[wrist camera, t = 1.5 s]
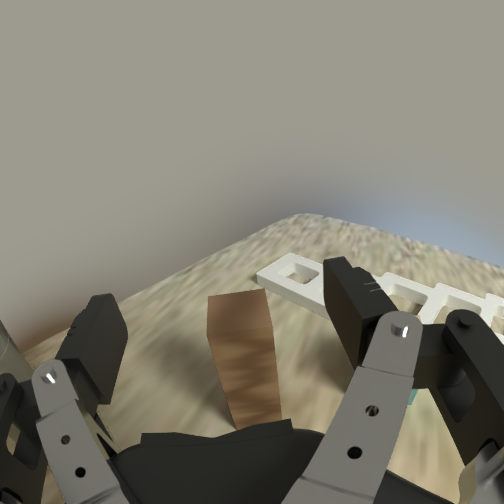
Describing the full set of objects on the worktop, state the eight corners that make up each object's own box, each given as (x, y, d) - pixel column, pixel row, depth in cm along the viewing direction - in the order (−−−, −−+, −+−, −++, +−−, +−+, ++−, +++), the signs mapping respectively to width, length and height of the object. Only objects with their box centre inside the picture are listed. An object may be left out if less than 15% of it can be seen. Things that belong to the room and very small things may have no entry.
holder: (257, 286, 55) (255, 273, 54) (318, 246, 65) (318, 234, 64) (507, 403, 25) (516, 390, 23) (525, 322, 35) (530, 309, 33)
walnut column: (236, 429, 30) (206, 334, 23) (234, 395, 35) (208, 296, 27) (282, 423, 30) (272, 325, 23) (276, 389, 35) (264, 288, 28)
